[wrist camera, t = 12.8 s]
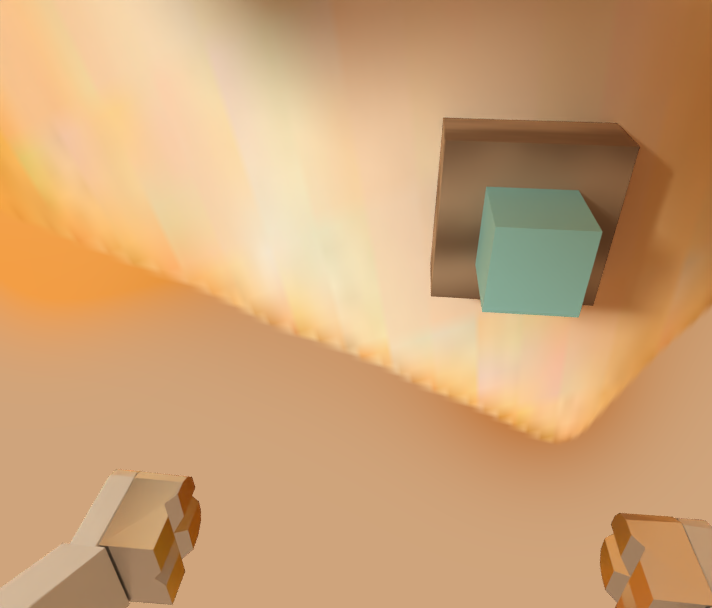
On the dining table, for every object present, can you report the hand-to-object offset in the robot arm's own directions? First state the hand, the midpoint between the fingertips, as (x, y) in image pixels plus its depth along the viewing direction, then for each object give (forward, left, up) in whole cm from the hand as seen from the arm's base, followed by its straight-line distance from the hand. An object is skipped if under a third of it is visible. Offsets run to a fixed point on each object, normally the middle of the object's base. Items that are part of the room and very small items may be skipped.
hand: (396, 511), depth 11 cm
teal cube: (+8, +8, -29) cm, 31 cm away
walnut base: (+8, +8, -34) cm, 36 cm away
